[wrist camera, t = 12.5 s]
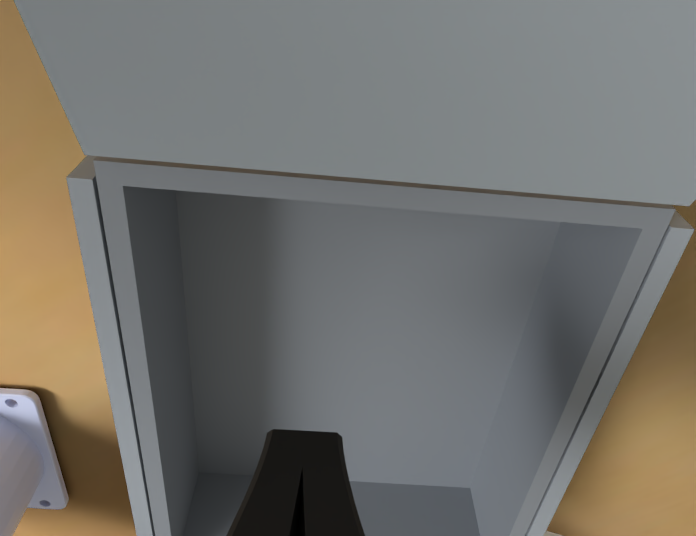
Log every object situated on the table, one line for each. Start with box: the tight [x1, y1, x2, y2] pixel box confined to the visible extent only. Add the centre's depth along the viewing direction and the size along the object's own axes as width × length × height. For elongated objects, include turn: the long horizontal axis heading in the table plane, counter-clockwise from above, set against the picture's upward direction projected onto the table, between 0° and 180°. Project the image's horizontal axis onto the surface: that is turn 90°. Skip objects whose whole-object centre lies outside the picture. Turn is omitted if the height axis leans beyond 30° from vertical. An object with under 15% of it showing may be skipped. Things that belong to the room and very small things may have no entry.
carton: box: [66, 155, 695, 536], centre depth 21 cm, size 15×18×5 cm
